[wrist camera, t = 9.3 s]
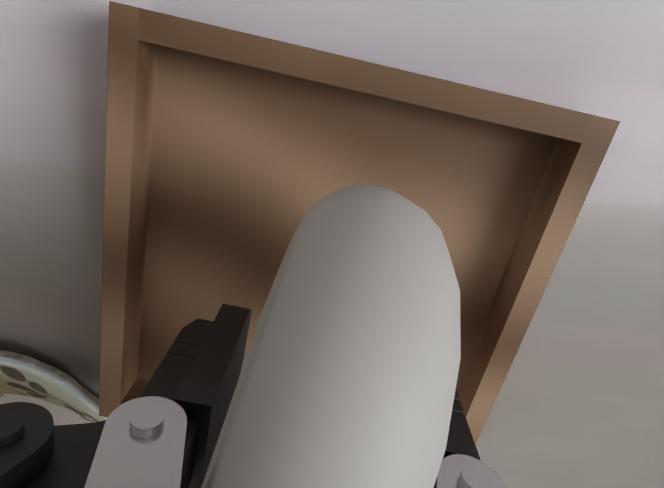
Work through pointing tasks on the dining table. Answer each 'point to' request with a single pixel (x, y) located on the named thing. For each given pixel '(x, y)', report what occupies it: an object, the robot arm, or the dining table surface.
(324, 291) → the white ring
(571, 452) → the dining table surface
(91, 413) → the salad plate
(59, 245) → the dining table surface
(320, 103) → the display tray
